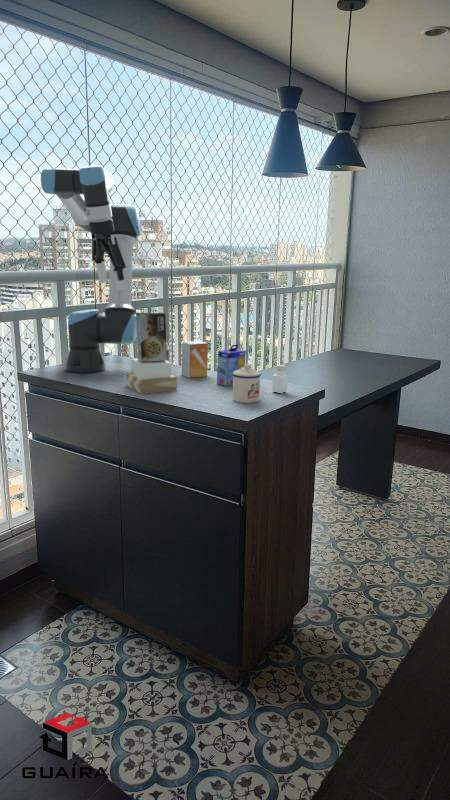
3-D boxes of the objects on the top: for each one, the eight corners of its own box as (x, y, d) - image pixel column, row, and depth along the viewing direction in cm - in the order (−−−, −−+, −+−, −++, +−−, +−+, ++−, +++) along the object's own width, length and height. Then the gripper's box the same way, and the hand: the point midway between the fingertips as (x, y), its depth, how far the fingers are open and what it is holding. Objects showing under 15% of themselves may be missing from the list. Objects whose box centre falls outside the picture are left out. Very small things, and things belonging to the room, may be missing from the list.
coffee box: (162, 358, 196) (161, 312, 193) (167, 360, 190) (166, 313, 187) (137, 359, 193) (135, 312, 190) (140, 362, 187) (139, 313, 184)
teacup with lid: (251, 405, 175) (252, 368, 172) (226, 400, 179) (227, 365, 176) (268, 397, 185) (270, 363, 182) (244, 393, 189) (245, 359, 186)
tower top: (132, 372, 196) (131, 358, 195) (162, 370, 200) (162, 357, 199) (138, 378, 186) (138, 364, 185) (170, 377, 190) (170, 362, 189)
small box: (189, 378, 210) (189, 344, 207) (181, 375, 215) (181, 341, 212) (207, 376, 214) (208, 342, 211) (199, 373, 220) (199, 340, 216)
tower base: (127, 386, 196) (126, 373, 195) (160, 383, 203) (160, 370, 201) (141, 395, 185) (141, 380, 184) (176, 391, 192) (176, 377, 191)
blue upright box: (227, 386, 198) (228, 346, 195) (215, 384, 202) (216, 344, 198) (245, 382, 206) (246, 343, 202) (234, 380, 209) (235, 341, 206)
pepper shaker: (280, 394, 189) (282, 367, 187) (271, 392, 192) (272, 365, 190) (287, 392, 192) (288, 365, 190) (277, 390, 195) (279, 363, 193)
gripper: (73, 218, 181) (87, 282, 191) (106, 225, 162) (119, 296, 172) (95, 214, 185) (106, 277, 194) (129, 221, 166) (140, 290, 176)
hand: (112, 286), depth 183 cm, fingers open, 13 cm apart
